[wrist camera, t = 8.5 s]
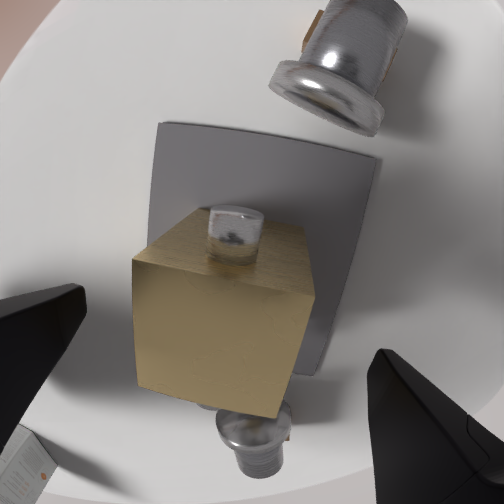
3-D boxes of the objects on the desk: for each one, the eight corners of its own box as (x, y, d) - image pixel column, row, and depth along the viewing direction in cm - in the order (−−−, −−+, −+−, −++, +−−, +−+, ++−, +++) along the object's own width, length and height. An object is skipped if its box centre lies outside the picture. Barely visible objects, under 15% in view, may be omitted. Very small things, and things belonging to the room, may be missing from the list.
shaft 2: (354, 138, 11) (390, 136, 7) (272, 99, 11) (263, 73, 7) (393, 53, 10) (439, 17, 5) (315, 14, 10) (326, -41, 5)
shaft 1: (226, 378, 16) (208, 442, 12) (292, 377, 16) (290, 445, 11) (236, 425, 17) (224, 483, 13) (293, 425, 17) (291, 486, 13)
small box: (2, 413, 25) (-46, 474, 12) (33, 431, 24) (-16, 503, 12) (28, 449, 27) (-11, 507, 15) (59, 466, 27) (21, 531, 15)
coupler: (188, 320, 15) (140, 408, 9) (202, 179, 12) (133, 210, 7) (277, 339, 14) (267, 439, 9) (310, 198, 12) (328, 246, 6)
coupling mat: (149, 337, 16) (147, 340, 15) (161, 122, 12) (158, 122, 12) (312, 372, 15) (313, 376, 15) (374, 158, 11) (376, 159, 11)
